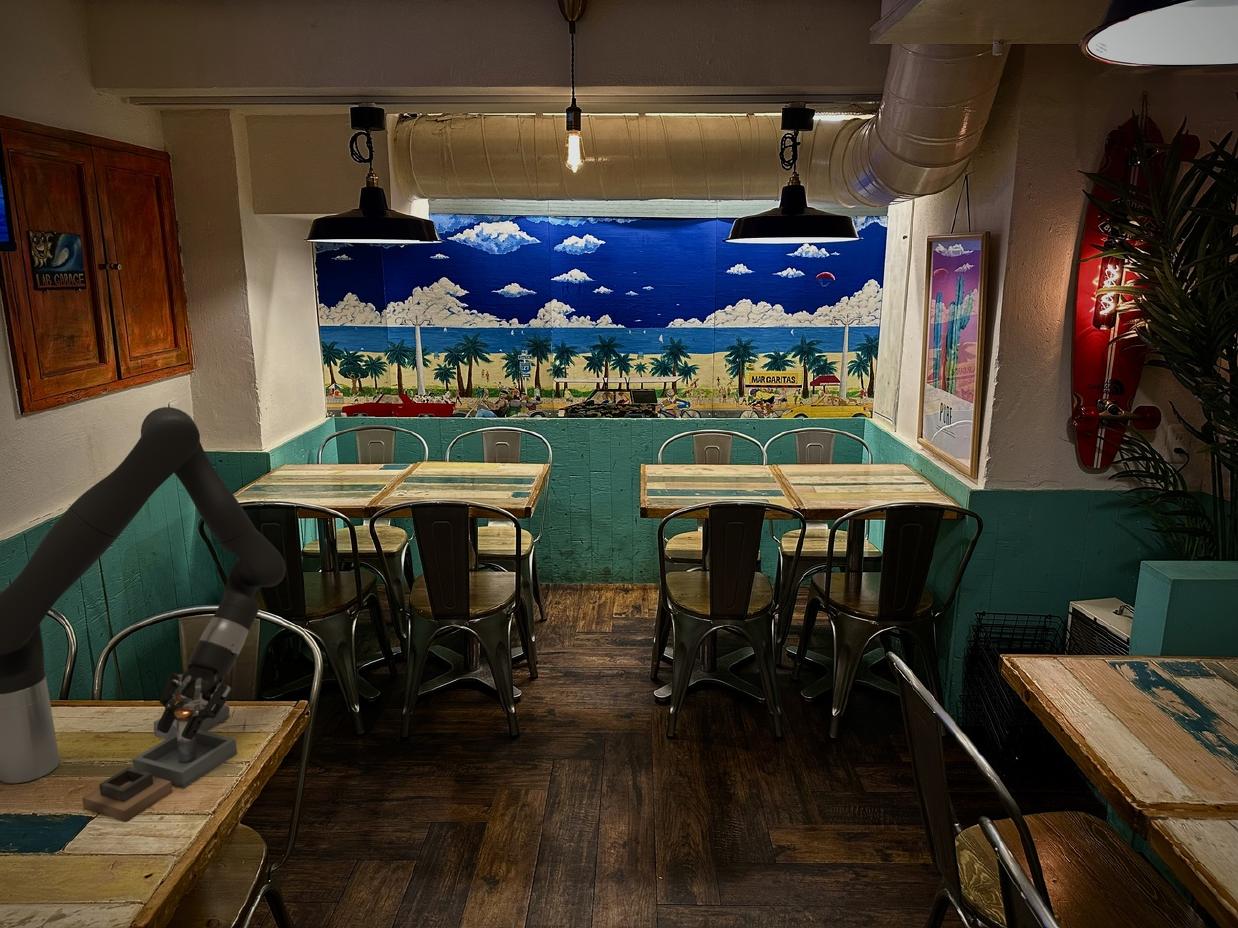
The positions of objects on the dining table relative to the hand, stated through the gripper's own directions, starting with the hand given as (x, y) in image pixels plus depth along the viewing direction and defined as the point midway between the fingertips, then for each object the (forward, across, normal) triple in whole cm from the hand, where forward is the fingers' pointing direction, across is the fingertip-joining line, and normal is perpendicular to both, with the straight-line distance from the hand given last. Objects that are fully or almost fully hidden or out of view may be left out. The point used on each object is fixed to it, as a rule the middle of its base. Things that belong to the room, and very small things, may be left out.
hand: (174, 734), depth 157 cm
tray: (+4, 0, +6) cm, 7 cm away
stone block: (-4, -11, +14) cm, 18 cm away
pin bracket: (+12, 0, -2) cm, 12 cm away
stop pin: (+3, 0, +6) cm, 6 cm away
